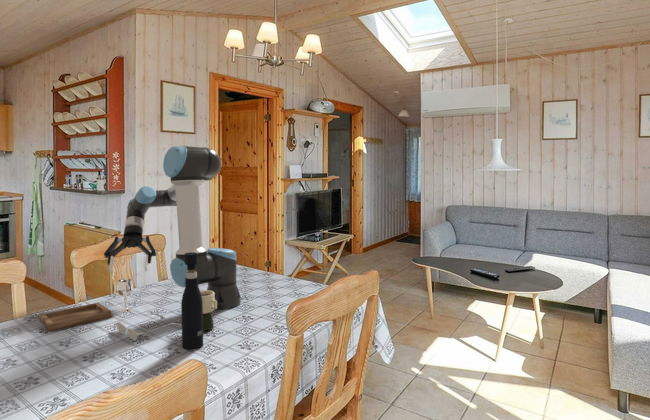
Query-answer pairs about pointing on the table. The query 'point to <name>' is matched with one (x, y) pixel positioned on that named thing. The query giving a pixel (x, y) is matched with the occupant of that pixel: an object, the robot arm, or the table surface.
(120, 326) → the eyeglasses
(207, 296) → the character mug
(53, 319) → the walnut tray
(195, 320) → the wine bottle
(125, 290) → the wineglass
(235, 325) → the table surface
